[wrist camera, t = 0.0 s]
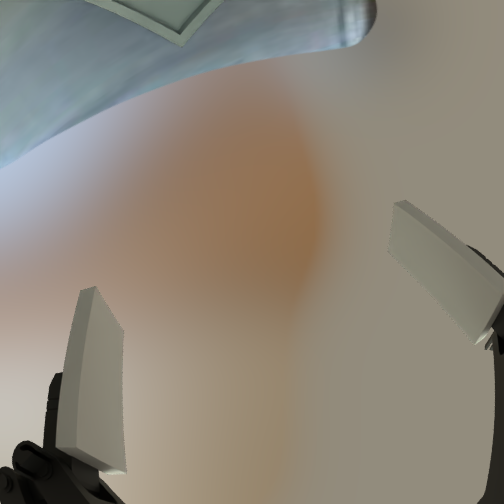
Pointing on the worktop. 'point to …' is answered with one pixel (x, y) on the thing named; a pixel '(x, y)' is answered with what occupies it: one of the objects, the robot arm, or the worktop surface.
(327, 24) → the worktop surface
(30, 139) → the worktop surface
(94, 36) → the worktop surface
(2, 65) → the worktop surface
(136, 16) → the bin
